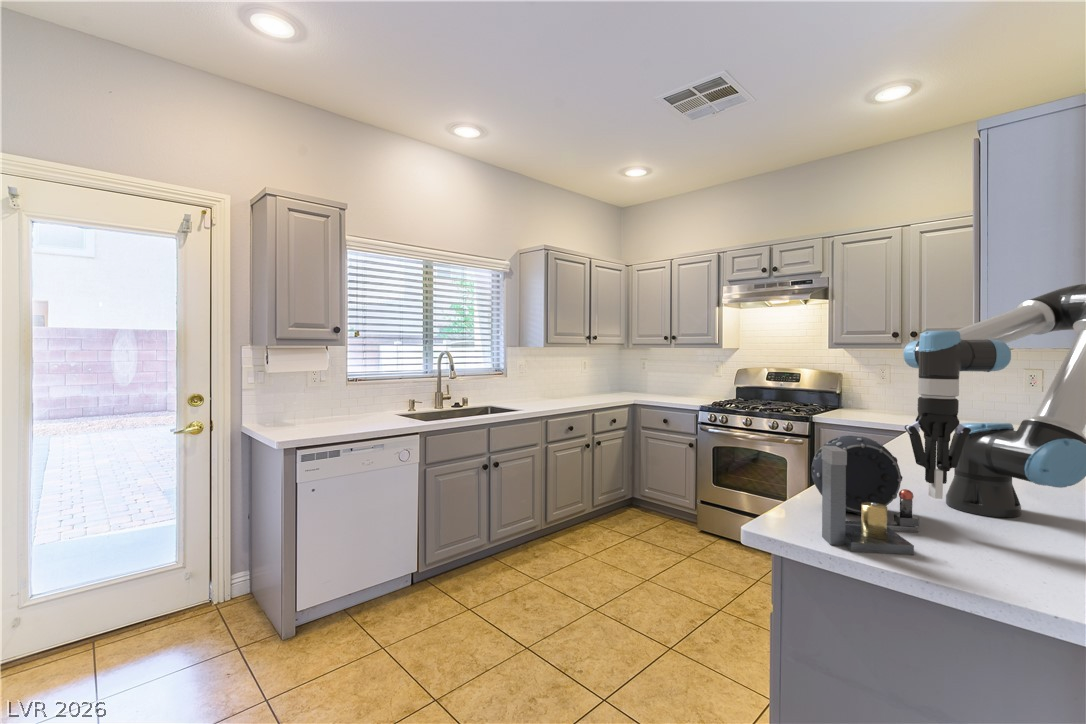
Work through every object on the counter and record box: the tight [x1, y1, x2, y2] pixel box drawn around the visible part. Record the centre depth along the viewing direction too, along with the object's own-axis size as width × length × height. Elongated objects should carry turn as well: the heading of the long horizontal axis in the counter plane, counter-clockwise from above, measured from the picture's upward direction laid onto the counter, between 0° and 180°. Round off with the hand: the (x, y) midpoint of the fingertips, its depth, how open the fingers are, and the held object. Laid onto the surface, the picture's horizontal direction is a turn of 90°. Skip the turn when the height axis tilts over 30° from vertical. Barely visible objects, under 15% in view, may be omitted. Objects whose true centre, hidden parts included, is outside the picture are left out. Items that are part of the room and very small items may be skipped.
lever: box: [892, 488, 920, 527], centre depth 119 cm, size 4×3×8 cm
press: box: [821, 445, 919, 556], centre depth 113 cm, size 23×17×21 cm
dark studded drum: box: [811, 435, 903, 515], centre depth 133 cm, size 11×20×20 cm, turn 78°
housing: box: [860, 502, 888, 539], centre depth 111 cm, size 5×5×7 cm
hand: (935, 496), depth 118 cm, fingers closed
